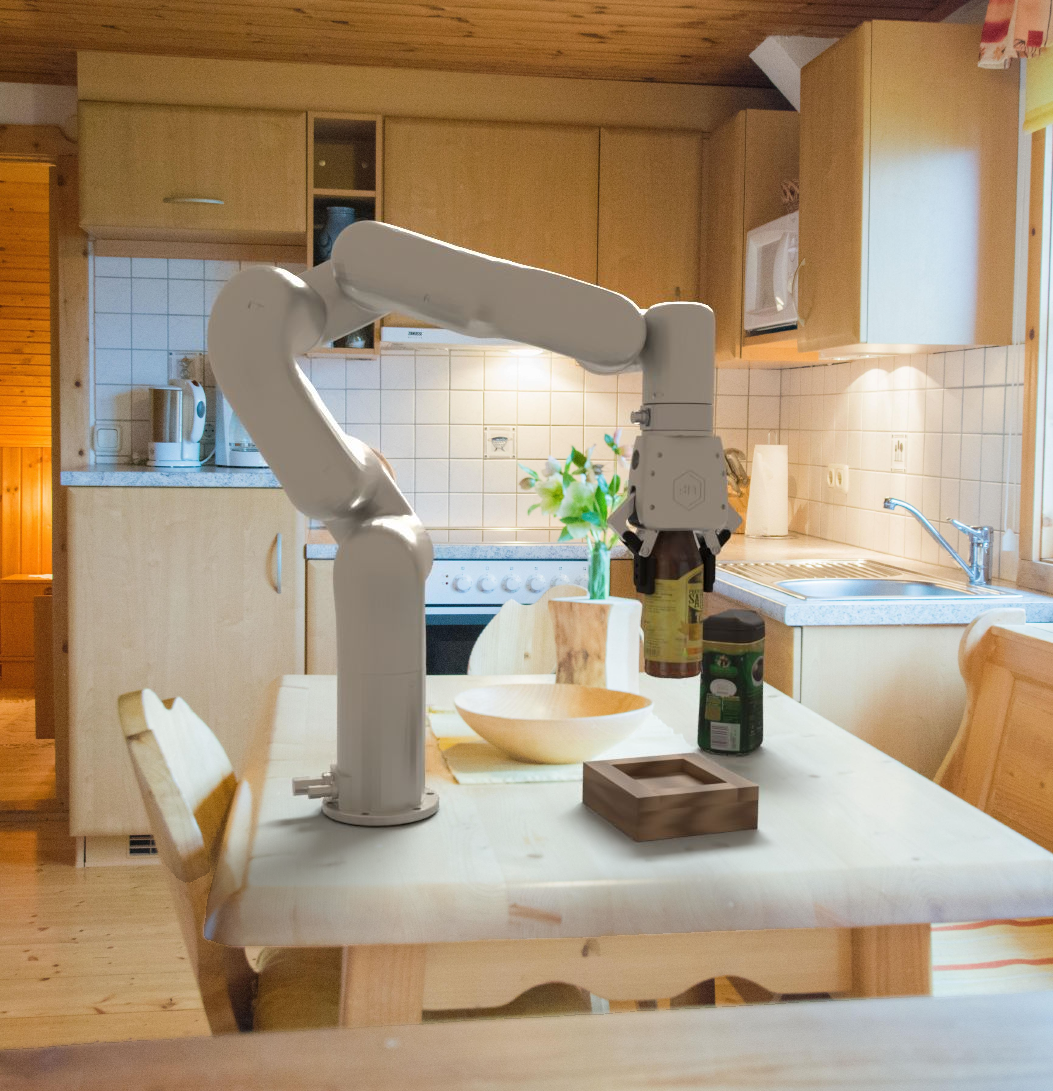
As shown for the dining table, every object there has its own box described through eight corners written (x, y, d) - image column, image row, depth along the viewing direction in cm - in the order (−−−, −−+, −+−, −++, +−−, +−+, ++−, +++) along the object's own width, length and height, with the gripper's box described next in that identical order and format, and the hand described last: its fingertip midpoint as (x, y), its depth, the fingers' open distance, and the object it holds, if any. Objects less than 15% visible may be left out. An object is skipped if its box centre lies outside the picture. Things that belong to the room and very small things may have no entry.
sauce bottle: (700, 682, 118) (703, 491, 116) (640, 679, 119) (642, 490, 118) (703, 670, 124) (706, 489, 123) (646, 668, 126) (648, 488, 124)
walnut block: (636, 841, 114) (637, 797, 114) (582, 801, 127) (583, 761, 127) (757, 827, 119) (758, 785, 119) (693, 790, 132) (694, 752, 132)
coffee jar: (713, 736, 158) (717, 603, 156) (769, 744, 154) (773, 608, 153) (688, 751, 149) (691, 611, 148) (746, 760, 146) (750, 616, 144)
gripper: (617, 420, 113) (614, 599, 115) (767, 423, 119) (763, 593, 121) (587, 422, 120) (585, 591, 122) (731, 425, 126) (727, 585, 128)
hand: (674, 590), depth 121 cm, fingers closed on sauce bottle, 6 cm apart
